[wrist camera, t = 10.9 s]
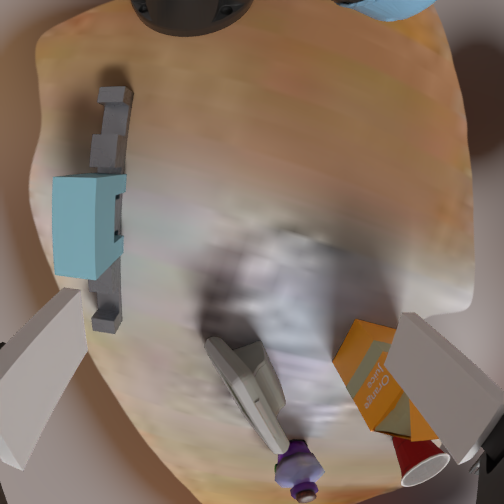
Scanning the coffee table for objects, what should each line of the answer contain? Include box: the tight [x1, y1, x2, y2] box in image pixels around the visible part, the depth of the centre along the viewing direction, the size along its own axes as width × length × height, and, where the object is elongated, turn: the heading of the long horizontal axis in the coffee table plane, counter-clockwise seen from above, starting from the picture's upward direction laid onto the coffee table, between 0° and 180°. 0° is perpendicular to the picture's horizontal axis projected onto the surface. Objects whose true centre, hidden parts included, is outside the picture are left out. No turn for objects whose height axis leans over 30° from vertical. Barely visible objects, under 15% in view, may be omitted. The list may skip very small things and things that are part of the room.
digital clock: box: [204, 337, 290, 454], centre depth 36 cm, size 16×9×11 cm, turn 9°
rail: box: [88, 86, 134, 334], centre depth 32 cm, size 28×3×4 cm, turn 173°
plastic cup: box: [393, 436, 450, 487], centre depth 45 cm, size 11×11×12 cm
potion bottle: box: [275, 439, 325, 503], centre depth 41 cm, size 9×9×12 cm
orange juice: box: [333, 319, 439, 442], centre depth 33 cm, size 8×9×20 cm
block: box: [52, 173, 127, 280], centre depth 28 cm, size 9×4×9 cm, turn 173°
